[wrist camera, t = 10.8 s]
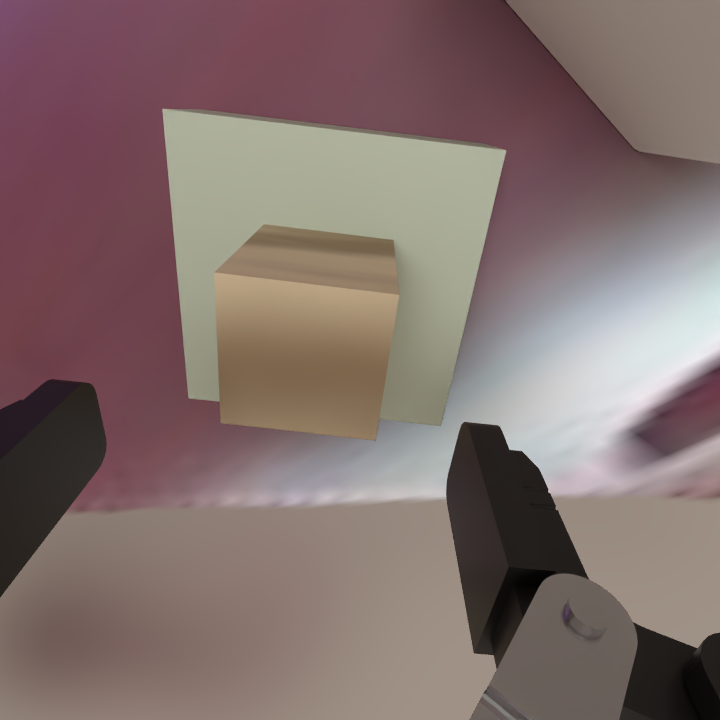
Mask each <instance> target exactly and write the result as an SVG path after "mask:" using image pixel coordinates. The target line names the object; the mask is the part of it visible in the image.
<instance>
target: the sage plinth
mask: <svg viewBox="0 0 720 720" xmlns="http://www.w3.org/2000/svg"><path fill="white" fill-rule="evenodd" d="M163 121H164V132H165V143H166V154H167V165H168V176H169V187H170V198H171V209H172V220H173V232H174V243H175V254H176V265H177V276H178V287H179V298H180V309H181V320H182V331H183V343H184V354H185V365H186V376H187V387H188V398H191V399H201V400H210V401H219V402H220V399H219V375H218V352H217V329H216V306H215V283H214V272H215V271H216V270H217V269H218V268H219V267H220V266H221V265H222V264H223V263H224V262H225V261H226V260H227V259H229V258H230V257H231V256H232V255H233V254H234V253H235V252H236V251H237V250H238V249H239V248H240V247H241V246H242V245H243V244H244V243H245V242H246V241H247V240H248V239H249V238H250V237H251V236H252V235H253V234H254V233H255V232H256V231H257V230H259V229H260V228H261V227H262V226H263V225H264V224H268V225H276V226H284V227H292V228H300V229H308V230H317V231H325V232H333V233H341V234H349V235H357V236H365V237H373V238H382V239H390V240H394V249H395V258H396V268H397V277H398V286H399V300H398V306H397V313H396V319H395V325H394V331H393V337H392V343H391V349H390V355H389V361H388V368H387V374H386V380H385V386H384V392H383V398H382V404H381V410H380V417H379V419H383V420H392V421H401V422H410V423H419V424H428V425H438V426H441V423H442V419H443V415H444V411H445V406H446V402H447V398H448V394H449V390H450V385H451V381H452V377H453V373H454V368H455V364H456V360H457V356H458V352H459V347H460V343H461V339H462V335H463V331H464V326H465V322H466V318H467V314H468V310H469V305H470V301H471V297H472V293H473V289H474V284H475V280H476V276H477V272H478V268H479V263H480V259H481V255H482V251H483V246H484V242H485V238H486V234H487V230H488V225H489V221H490V217H491V213H492V209H493V204H494V200H495V196H496V192H497V188H498V183H499V179H500V175H501V171H502V167H503V162H504V158H505V154H506V150H504V149H500V148H497V147H494V146H491V145H487V144H484V143H476V142H468V141H460V140H451V139H443V138H435V137H426V136H418V135H410V134H402V133H393V132H385V131H377V130H368V129H360V128H352V127H343V126H335V125H327V124H319V123H310V122H302V121H294V120H285V119H277V118H269V117H260V116H252V115H244V114H236V113H227V112H219V111H211V110H202V109H163Z"/></svg>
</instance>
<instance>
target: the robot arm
mask: <svg viewBox="0 0 720 720" xmlns="http://www.w3.org/2000/svg"><path fill="white" fill-rule="evenodd" d="M105 453H106V436H105V431H104V427H103V422H102V417H101V413H100V408H99V404H98V399H97V394H96V391H95V389H94V387H93V386H92V385H91V384H90V383H84V382H74V381H64V380H54V379H52V380H48V381H46V382H45V383H43V384H42V385H41V386H40V387H39V388H37V389H36V390H35V391H34V392H33V393H31V394H30V395H29V396H28V397H27V398H25V399H24V400H19V401H17V402H15V403H13V404H11V405H9V406H7V407H5V408H3V409H0V597H1V596H2V594H3V593H4V592H5V590H6V589H7V588H8V586H9V585H10V584H11V583H12V581H13V580H14V579H15V577H16V576H17V575H18V573H19V572H20V571H21V570H22V568H23V567H24V566H25V564H26V563H27V562H28V560H29V559H30V558H31V556H32V555H33V554H34V553H35V551H36V550H37V549H38V547H39V546H40V545H41V543H42V542H43V541H44V539H45V538H46V537H47V536H48V534H49V533H50V531H51V530H52V529H53V528H54V526H55V525H56V524H57V523H58V521H59V520H60V519H61V517H62V516H63V515H64V513H65V512H66V511H67V509H68V508H69V507H70V506H71V504H72V503H73V502H74V500H75V499H76V498H77V496H78V495H79V494H80V492H81V491H82V490H83V489H84V487H85V486H86V485H87V483H88V482H89V481H90V479H91V478H92V477H93V476H94V474H95V473H96V472H97V470H98V469H99V467H100V466H101V464H102V462H103V459H104V456H105ZM446 496H447V505H448V511H449V516H450V522H451V528H452V533H453V539H454V545H455V550H456V556H457V561H458V567H459V572H460V578H461V583H462V589H463V594H464V600H465V606H466V612H467V617H468V623H469V628H470V634H471V639H472V645H473V651H474V653H477V654H488V655H494V658H495V663H496V668H497V670H496V672H495V674H494V676H493V678H492V680H491V682H490V684H489V686H488V687H487V689H486V690H485V692H484V693H483V695H482V697H481V699H480V701H479V703H478V704H477V706H476V708H475V710H474V712H473V714H472V716H471V718H470V720H720V633H716V634H712V635H710V636H708V637H707V638H706V639H705V640H704V641H703V642H702V643H701V645H700V646H699V647H698V648H695V647H692V646H690V645H687V644H685V643H682V642H679V641H677V640H674V639H672V638H669V637H667V636H664V635H661V634H659V633H656V632H654V631H651V630H649V629H646V628H644V627H641V626H639V625H637V624H636V623H634V622H632V620H631V618H630V616H629V614H628V613H627V611H626V610H625V609H624V607H623V606H622V605H621V604H620V602H619V601H617V599H616V598H615V597H614V596H613V595H611V594H610V593H609V592H608V591H607V590H605V589H604V588H603V587H601V586H600V585H598V584H596V583H594V582H593V581H591V580H589V578H588V577H587V574H586V572H585V570H584V568H583V565H582V564H581V561H580V559H579V557H578V554H577V552H576V550H575V548H574V545H573V543H572V541H571V539H570V537H569V534H568V532H567V530H566V528H565V525H564V523H563V521H562V519H561V517H560V515H559V512H558V510H556V509H555V507H556V505H555V503H554V501H553V499H552V497H551V494H550V493H548V488H547V485H546V483H545V481H544V479H543V477H542V474H541V472H540V470H539V468H538V467H537V466H536V465H535V464H534V463H533V462H532V461H531V460H530V459H529V458H528V457H527V456H526V455H525V454H524V453H523V452H522V451H514V450H509V448H508V445H507V443H506V440H505V438H504V435H503V433H502V430H501V428H500V427H499V426H498V425H488V424H478V423H468V422H464V423H463V424H462V425H461V428H460V431H459V435H458V439H457V442H456V446H455V450H454V454H453V458H452V462H451V465H450V469H449V473H448V478H447V489H446Z"/></svg>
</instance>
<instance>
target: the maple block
mask: <svg viewBox="0 0 720 720" xmlns="http://www.w3.org/2000/svg"><path fill="white" fill-rule="evenodd" d="M214 283H215V306H216V329H217V352H218V375H219V399H220V422H221V423H226V424H235V425H243V426H252V427H261V428H270V429H278V430H287V431H296V432H305V433H314V434H322V435H331V436H340V437H349V438H357V439H366V440H375V441H376V435H377V429H378V423H379V417H380V410H381V404H382V398H383V392H384V386H385V380H386V374H387V368H388V361H389V355H390V349H391V343H392V337H393V331H394V325H395V319H396V313H397V306H398V300H399V286H398V277H397V268H396V258H395V249H394V240H390V239H382V238H373V237H365V236H357V235H349V234H341V233H333V232H325V231H317V230H308V229H300V228H292V227H284V226H276V225H268V224H264V225H263V226H262V227H261V228H260V229H259V230H257V231H256V232H255V233H254V234H253V235H252V236H251V237H250V238H249V239H248V240H247V241H246V242H245V243H244V244H243V245H242V246H241V247H240V248H239V249H238V250H237V251H236V252H235V253H234V254H233V255H232V256H231V257H230V258H229V259H227V260H226V261H225V262H224V263H223V264H222V265H221V266H220V267H219V268H218V269H217V270H216V271H215V272H214Z"/></svg>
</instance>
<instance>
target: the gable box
mask: <svg viewBox="0 0 720 720" xmlns="http://www.w3.org/2000/svg"><path fill="white" fill-rule="evenodd" d="M505 1H506V2H507V3H508V5H509V6H510V7H511V8H512V9H513V10H514V11H515V13H516V14H517V15H518V16H519V17H520V18H521V19H522V21H523V22H524V23H525V24H526V25H527V26H528V28H529V29H530V30H531V31H532V32H533V33H534V34H535V36H536V37H537V38H538V39H539V40H540V41H541V42H542V44H543V45H544V46H545V47H546V48H547V49H548V50H549V52H550V53H551V54H552V55H553V56H554V57H555V59H556V60H557V61H558V62H559V63H560V64H561V65H562V67H563V68H564V69H565V70H566V71H567V72H568V73H569V75H570V76H571V77H572V78H573V79H574V80H575V81H576V83H577V84H578V85H579V86H580V87H581V88H582V90H583V91H584V92H585V93H586V94H587V95H588V96H589V98H590V99H591V100H592V101H593V102H594V103H595V104H596V106H597V107H598V108H599V109H600V110H601V111H602V113H603V114H604V115H605V116H606V117H607V118H608V119H609V121H610V122H611V123H612V124H613V125H614V126H615V127H616V129H617V130H618V131H619V132H620V133H621V134H622V135H623V137H624V138H625V139H626V140H627V141H628V142H629V144H630V145H631V146H632V147H633V148H634V149H635V150H638V151H639V152H645V153H652V154H658V155H665V156H672V157H678V158H685V159H691V160H698V161H704V162H711V163H718V164H720V0H505Z"/></svg>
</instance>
